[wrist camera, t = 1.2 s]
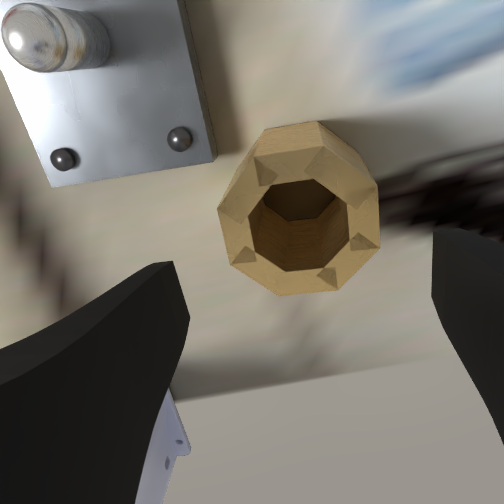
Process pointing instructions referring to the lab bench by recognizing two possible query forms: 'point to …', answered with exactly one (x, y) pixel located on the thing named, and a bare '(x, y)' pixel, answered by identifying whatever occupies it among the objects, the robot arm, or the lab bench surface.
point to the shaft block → (106, 86)
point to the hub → (307, 230)
